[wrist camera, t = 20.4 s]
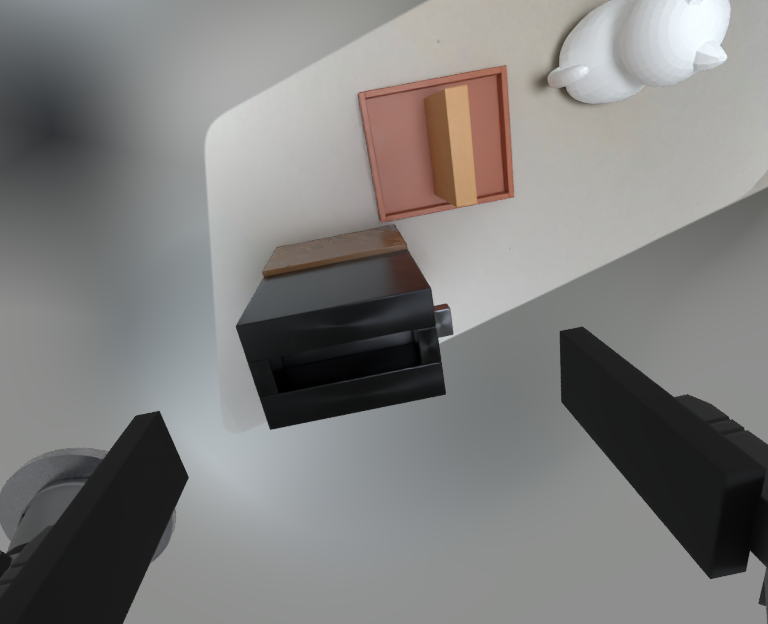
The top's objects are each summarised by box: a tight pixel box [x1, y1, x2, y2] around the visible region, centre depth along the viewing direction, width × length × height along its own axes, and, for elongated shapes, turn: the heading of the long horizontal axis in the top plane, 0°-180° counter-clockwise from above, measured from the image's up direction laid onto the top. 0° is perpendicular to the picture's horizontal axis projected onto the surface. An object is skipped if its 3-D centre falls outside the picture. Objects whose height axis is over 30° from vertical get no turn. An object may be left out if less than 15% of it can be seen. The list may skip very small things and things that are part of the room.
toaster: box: [236, 225, 453, 430], centre depth 43 cm, size 16×10×22 cm, turn 100°
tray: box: [358, 65, 514, 223], centre depth 47 cm, size 15×13×2 cm
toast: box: [424, 85, 478, 208], centre depth 43 cm, size 10×2×10 cm, turn 10°
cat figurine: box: [548, 0, 730, 104], centre depth 40 cm, size 9×12×15 cm
